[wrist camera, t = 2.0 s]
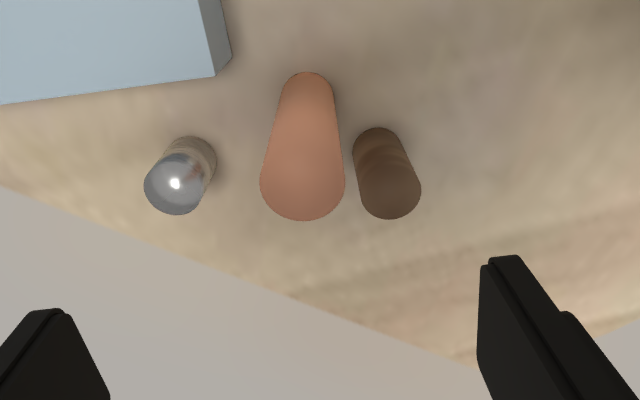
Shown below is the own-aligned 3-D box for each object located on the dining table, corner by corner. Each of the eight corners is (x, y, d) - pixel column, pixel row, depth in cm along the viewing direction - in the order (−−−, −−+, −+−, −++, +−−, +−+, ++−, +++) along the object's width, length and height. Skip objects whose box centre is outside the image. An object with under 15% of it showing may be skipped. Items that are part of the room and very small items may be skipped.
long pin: (330, 68, 26) (340, 138, 16) (336, 120, 28) (349, 216, 17) (276, 75, 27) (251, 149, 16) (285, 126, 28) (267, 225, 17)
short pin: (210, 133, 28) (193, 160, 24) (221, 178, 30) (207, 211, 26) (161, 139, 28) (136, 168, 24) (175, 184, 30) (153, 218, 26)
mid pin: (400, 124, 28) (420, 162, 23) (402, 170, 30) (421, 215, 24) (350, 131, 28) (358, 169, 23) (354, 176, 30) (363, 222, 24)
